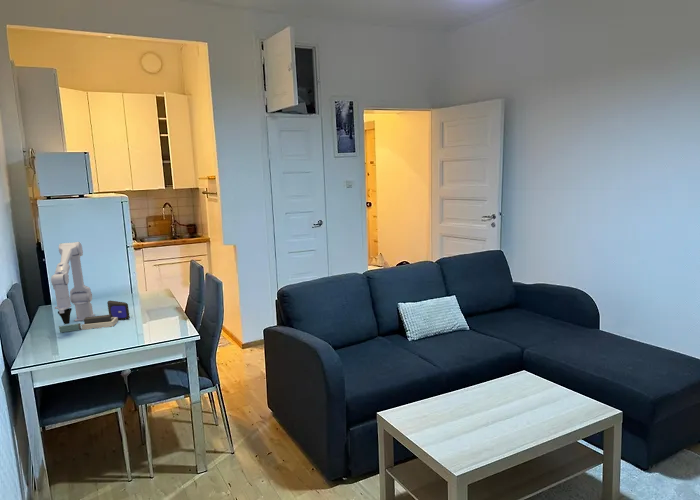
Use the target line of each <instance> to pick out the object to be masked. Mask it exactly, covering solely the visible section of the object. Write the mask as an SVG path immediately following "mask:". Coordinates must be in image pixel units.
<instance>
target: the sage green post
mask: <svg viewBox="0 0 700 500" xmlns="http://www.w3.org/2000/svg"><path fill="white" fill-rule="evenodd" d="M81 325H82V323H73V324H65V325H60V326H58V330H59V333H60V334H61V333H67V332H74V331H79V330H82V326H81Z"/></svg>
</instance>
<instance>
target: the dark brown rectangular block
mask: <svg viewBox="0 0 700 500" xmlns="http://www.w3.org/2000/svg"><path fill="white" fill-rule="evenodd" d="M102 322H111V314H110V315H109V314H103V315H94V316H93V317H86V318H85V319H84V320H83V323H84V324H92V323H102Z"/></svg>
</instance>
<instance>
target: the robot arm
mask: <svg viewBox="0 0 700 500" xmlns="http://www.w3.org/2000/svg"><path fill="white" fill-rule="evenodd" d="M58 252H59V255H60V262H58V263H57V264H56V268H55V271H54V274H53V275H51V278H50V281H51V282H50V283H51V285H52V288H53V290H54V292H55V293H54V294H55V300H56V305H57V306H54V309H55V310H58V311H57V315H59V316H60V318H61V320H62V322H63V325H70V322H71V313H72V310H73V308H72V304H73V305H74V308H75V315H76V318H75V319H74V322H80V321H84V319H85V318H86V317H94V316H96V314H95V313H94V312H93V304H92V300H93V293H92V291H91V288H90V287H89V286H87V285H85V283H84V276H83V269H82V263H81V257H83V255H84V251H83V246H82V242H80V241H76V242H64V243H59V244H58ZM70 268H71V273H72V274H71V275H72V280H73V288H71V289H70V291H69V286H68V285H69V282H70V279H69V272H70Z"/></svg>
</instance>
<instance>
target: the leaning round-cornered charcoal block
mask: <svg viewBox="0 0 700 500" xmlns="http://www.w3.org/2000/svg"><path fill="white" fill-rule="evenodd" d="M107 309H108V310H107V311H108V315H110V314H111V318H112V317H118V321H124V320H126V321H127V320H129V319H130V318H131V316H130V311H129V304H128V303H127V302H125V301H116V300H108V301H107Z"/></svg>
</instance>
